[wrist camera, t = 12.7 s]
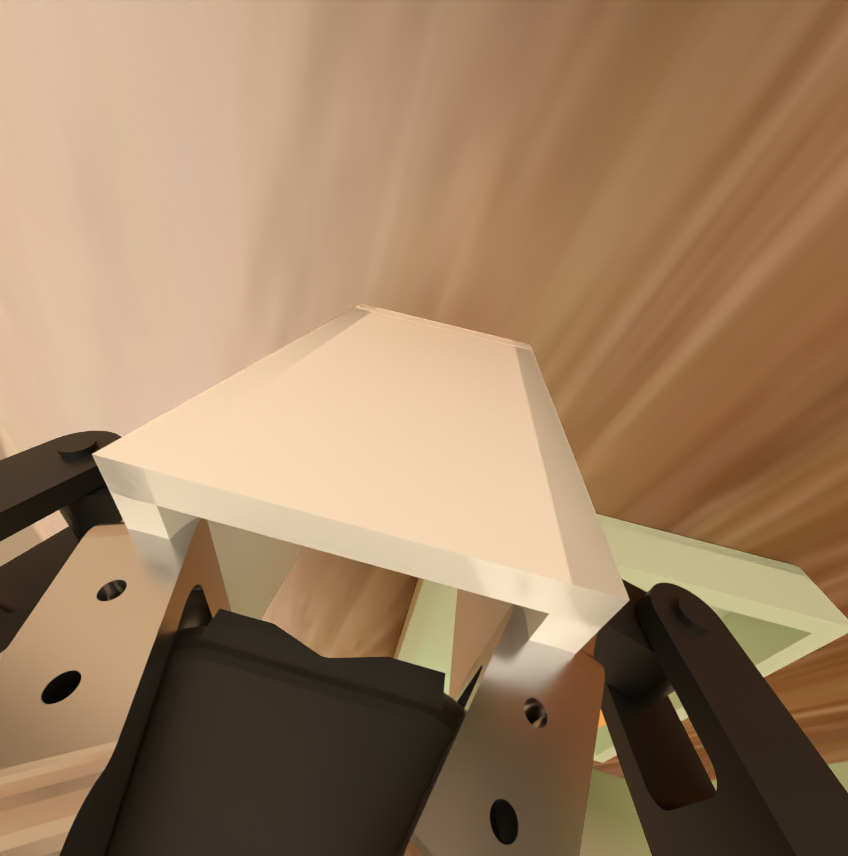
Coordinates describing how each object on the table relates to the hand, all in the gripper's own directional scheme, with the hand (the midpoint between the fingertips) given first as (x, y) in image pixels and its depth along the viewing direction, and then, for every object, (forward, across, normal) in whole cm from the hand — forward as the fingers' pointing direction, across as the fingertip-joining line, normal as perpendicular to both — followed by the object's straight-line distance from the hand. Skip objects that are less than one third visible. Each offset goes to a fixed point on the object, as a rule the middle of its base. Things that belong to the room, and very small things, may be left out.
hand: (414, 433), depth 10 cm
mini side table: (+3, 0, 0) cm, 3 cm away
